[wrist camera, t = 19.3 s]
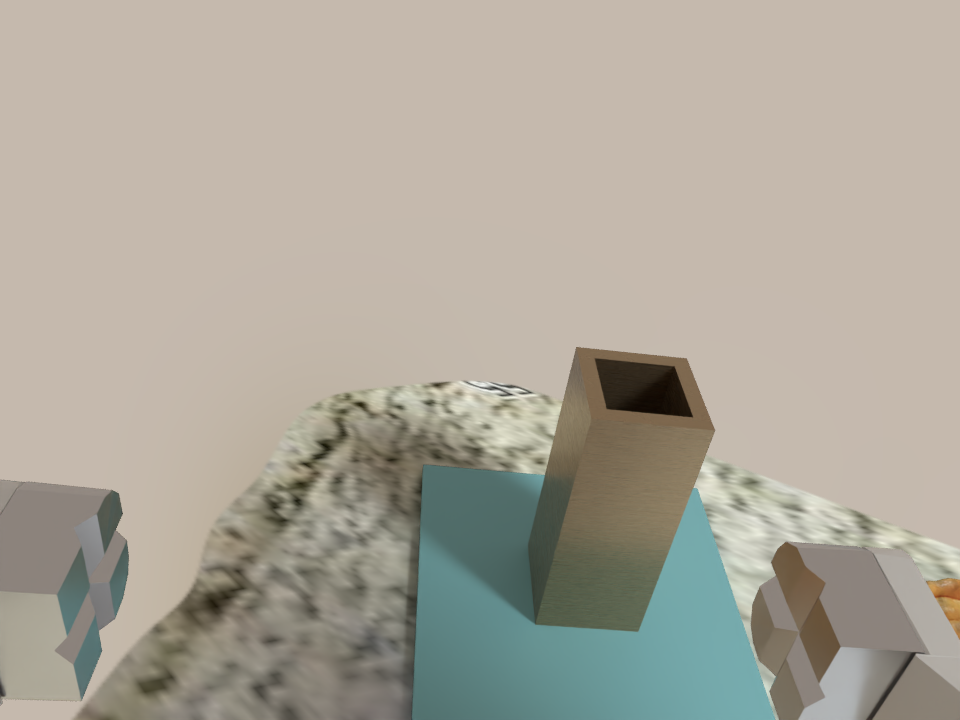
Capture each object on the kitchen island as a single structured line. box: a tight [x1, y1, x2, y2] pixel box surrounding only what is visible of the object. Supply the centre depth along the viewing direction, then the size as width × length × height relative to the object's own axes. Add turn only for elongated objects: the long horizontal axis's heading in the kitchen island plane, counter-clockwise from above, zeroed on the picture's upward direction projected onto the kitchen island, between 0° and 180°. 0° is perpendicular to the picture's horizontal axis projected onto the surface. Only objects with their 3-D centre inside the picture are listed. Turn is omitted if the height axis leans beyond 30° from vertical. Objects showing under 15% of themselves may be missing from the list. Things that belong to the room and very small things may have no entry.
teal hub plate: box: [412, 465, 775, 720], centre depth 47 cm, size 18×18×5 cm
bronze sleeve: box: [528, 347, 715, 632], centre depth 44 cm, size 6×6×14 cm
